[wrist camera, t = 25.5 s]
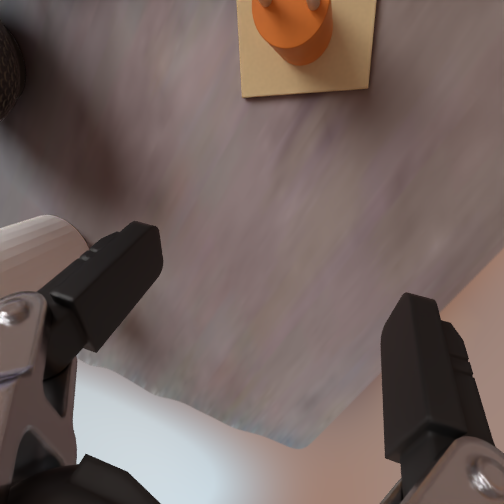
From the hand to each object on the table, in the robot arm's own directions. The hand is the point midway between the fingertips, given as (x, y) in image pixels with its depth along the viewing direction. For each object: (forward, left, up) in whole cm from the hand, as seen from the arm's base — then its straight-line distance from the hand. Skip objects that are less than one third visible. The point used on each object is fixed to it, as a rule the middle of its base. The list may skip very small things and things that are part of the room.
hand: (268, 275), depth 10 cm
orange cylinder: (+2, -12, -24) cm, 27 cm away
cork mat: (+2, -12, -25) cm, 27 cm away
